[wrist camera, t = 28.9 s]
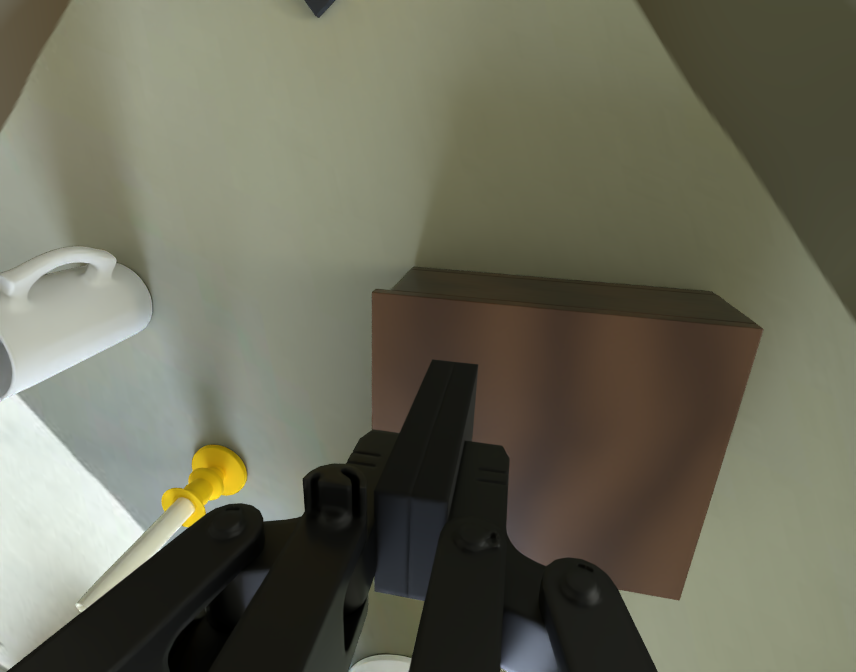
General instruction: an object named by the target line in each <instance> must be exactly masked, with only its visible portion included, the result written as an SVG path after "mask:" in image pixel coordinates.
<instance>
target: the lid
mask: <svg viewBox="0 0 856 672" xmlns="http://www.w3.org/2000/svg"><path fill="white" fill-rule="evenodd" d="M762 333H763V328H761V327H760V326H759V325H757V324H749V323H739V322H728V321H717V320H706V319H696V318H685V317H674V316H663V315H652V314H642V313H631V312H620V311H609V310H598V309H588V308H577V307H566V306H555V305H545V304H534V303H523V302H512V301H501V300H491V299H480V298H469V297H458V296H448V295H437V294H426V293H415V292H404V291H394V290H383V289H375V290H374V291H373V292H372V430H373V429H374V430H382V431H389V432H396V433H400V431H401V429H402V426H403V424H404V422H405V420H406V417H407V415H408V413H409V411H410V408H411V406H412V404H413V402H414V399H415V397H416V395H417V392H418V390H419V388H420V386H421V383H422V381H423V379H424V377H425V374H426V372H427V370H428V368H429V365H430V363H431V361H432V359H434V360H443V361H452V362H461V363H470V364H478V376H477V388H476V400H475V412H474V424H473V437H472V442H479V443H487V444H494V445H501V446H503V448H504V449H505V451H506V453H507V455H508V456H509V458H510V463H509V482H508V501H507V520H506V529H507V535H508V537H509V539H510V541H511V543H512V544H513V545H514V547H515V548H516V549H517V550H518V551H520V552H521V553H522V554H523V555H525V556H526V557H528V558H530V559H532V560H534V561H536V562H538V563H540V564H542V565H545V566H547V565H549V564H550V563H551V562H553V561H554V560H556V559H561V558H567V557H570V558H577V559H583V560H585V561H587V562H590V563H592V564H594V565H596V566H598V567H599V568H600V569H601V570H603V571H604V572H605V573H607V574H608V575H609V577H610V578H611V580H612V581H613V582H614V584H615V585H616V587H617V589H618V590H624V591H629V592H635V593H640V594H646V595H652V596H657V597H663V598H668V599H674V600H680V597H681V594H682V590H683V587H684V584H685V581H686V578H687V574H688V571H689V568H690V565H691V561H692V558H693V555H694V552H695V549H696V545H697V542H698V539H699V536H700V533H701V529H702V526H703V523H704V520H705V516H706V513H707V510H708V507H709V504H710V500H711V497H712V494H713V491H714V487H715V484H716V481H717V478H718V475H719V471H720V468H721V465H722V462H723V459H724V455H725V452H726V449H727V446H728V442H729V439H730V436H731V433H732V430H733V426H734V423H735V420H736V417H737V414H738V410H739V407H740V404H741V401H742V397H743V394H744V391H745V388H746V385H747V381H748V378H749V375H750V372H751V368H752V365H753V362H754V359H755V356H756V352H757V349H758V346H759V343H760V340H761V336H762Z"/></svg>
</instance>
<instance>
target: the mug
mask: <svg viewBox="0 0 856 672" xmlns="http://www.w3.org/2000/svg"><path fill="white" fill-rule="evenodd" d="M77 262H83V263H88V265H84V266H80V267H75V268H71V269H66V270H62V271H58V272H54V273H49V274H46V273H47V272H49V271H50V270H52V269H54V268H56V267H58V266H61V265H64V264H68V263H77ZM44 274H45V275H44ZM151 316H152V300H151V296H150V293H149V291H148V289H147V287H146V285H145V284H144V282H143V281H142V280H141V278H140V277H139V276H138V275H137V274H136V273H135V272H133V271H132V270H131V269H129V268H128V267H126V266H124V265H122V264H119V263H116V258H115V257H114V256H113V255H112V254H110V253H109V252H107V251H106V250H101V249H95V248H90V247H84V246H70V247H63V248H59V249H55V250H52V251H49V252H46V253H44V254H41V255H39V256H37V257H35V258H33V259H30V260H28V261H26V262H24V263H23V264H21V265H19V266H17V267H15V268H13V269H11V270H9V271H6V272H1V273H0V402H1V401H3V400H4V399H6V398H8V397H10V396H12V395H14V394H16V393H18V392H21V391H23V390H25V389H27V388H29V387H31V386H33V385H35V384H37V383H39V382H41V381H43V380H45V379H47V378H49V377H51V376H53V375H55V374H57V373H59V372H61V371H63V370H65V369H67V368H69V367H71V366H73V365H75V364H77V363H79V362H81V361H83V360H85V359H87V358H89V357H91V356H93V355H95V354H97V353H99V352H101V351H103V350H105V349H107V348H109V347H111V346H113V345H115V344H117V343H119V342H121V341H123V340H125V339H127V338H129V337H131V336H133V335H135V334H137V333H139V332H140V331H142V330H143V329H144V328H145V327H146V326H147V325H148V324H149V322H150V319H151Z"/></svg>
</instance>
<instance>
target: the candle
mask: <svg viewBox="0 0 856 672" xmlns="http://www.w3.org/2000/svg"><path fill="white" fill-rule="evenodd" d="M192 469H193V472H192V473H191V474H190V476H189V481H188V482H189V484H188V485H186V486H185V488H184V489H182V488H171V489H169V490H167V491H166V492H165V493H164V494H163V496H162V507H163V509H164V511H165V512H164V513H163V514H162V515H161V516H160V517H159V518H158V519H157V520H156V521H155V522H154V523H153V524H152V525H151V526H150V527H149V528H148V529H147V530H146V531H145V532H144V533H143V535H142V536H141V537H140V538H139V539H138V540H137V541H136V542H135V543H134V544H133V545H132V546H131V547H130V548H129V549H128V550H127V551H126V552H125V553H124V554H123V555H122V556H121V557H120V558H119V559H118V560H117V561H116V562H115V563H114V564H113V565H112V566H111V567H110V568H109V569H108V570H107V571H106V572H105V573H104V574H103V575H102V576H101V577H100V578H99V579H98V580H97V581H96V582H95V583H94V585H93V586H92V587H91V588H90V589H89V590H88V591H87V592H86V593H85V594H84V595H83V596H82V598H81V599H80V600H79V601H78V602H77V603H76V607H77V609H78V610H79V611H80V612H83V611H84V610H85V609H86V608H88V607H89V606H90V605H91V604H93V603H94V602H95V601H96V600H98V599H99V598H100V597H102V596H103V595H104V594H105V593H107V592H108V591H109V590H110V589H112V588H113V587H114V586H115V585H117V584H118V583H119V582H120V581H122V580H123V579H124V578H126V577H127V576H128V575H129V574H131V573H132V572H133V571H134V570H136V569H137V568H138V567H139V566H141V565H142V564H143V563H144V562H146V561H147V560H148V559H150V558H151V557H152V556H153V555H154V554H155V553H156V552H157V551H158V550H159V549H160V548H161V547H162V546H163V545H164V544H165V543H166V542H167V541H168V539H169V538H170V537H171V536H172V535H173V534H174V533H175V532H176V531H177V530H178V529H179V528H180V527H181V525H182V526H184V527H190V526H191V525H192V524H194V523H195V522H196V521H197V520H199V519H200V518H201V517H203V516H204V515H205V514H206V512H205V507H204V505H205V504H206V503H207V502H208V500H215V499H217V498H219V497H220V496H221V495H226V496H227V495H233V494H235V493H237V492H239V491H240V490H241V489H242V488H243V486H244V485H245V483H246V481H247V472H246V467H245V465H244V463H243V461H242V460H241V459H240V457H239V456H238V455H237V454H236V453H234V452H233V451H232V450H230V449H228V448H226V447H223V446H220V445H206V446H204V447H202V448H200V449H199V450H198V451H197V452H196V453H195V455H194V457H193V459H192Z"/></svg>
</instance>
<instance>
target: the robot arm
mask: <svg viewBox="0 0 856 672" xmlns="http://www.w3.org/2000/svg"><path fill="white" fill-rule="evenodd" d="M477 376H478V364H470V363H461V362H452V361H443V360H434V359H432V361H431V363H430V365H429V368H428V370H427V372H426V374H425V377H424V379H423V381H422V383H421V386H420V388H419V390H418V392H417V395H416V397H415V399H414V402H413V404H412V406H411V408H410V411H409V413H408V415H407V417H406V420H405V422H404V424H403V426H402V429H401V431H400V433H396V432H389V431H382V430H374V429H373V430H371V431H370V432H369V433H367V434H366V435H364V436H363V437H362V438H360V439H359V441H358V443H357V445H356V446H355V448H354V450H353V453H351V455H350V457H349V459H348V461H347V463H346V464H328V465H324V466H320V467H318V468H316V469H314V470H312V471H310V472H309V473H308V474H307V475H306V476H305V477H304V478H303V491H304V505H305V512H304V514H303V515H302V516H301V517H298V518H293V519H287V520H276V521H265V522H263V517H262V515H261V513H260V511H259V510H258V509H256V508H255V507H254V506H252V505H247V504H242V503H239V504H228V505H225V506H222V507H219V508H215V509H214V510H212V511H210V512H209V513H207V514H205V515H204V516H203V517H201V518H200V519H199V520H197V521H196V522H195V523H194V524H192V525H191V526H190V527H189V528H187V529H186V530H185V531H184V532H182V533H181V534H180V535H179V536H177V537H176V538H175V539H173V540H172V541H171V542H170V543H168V544H167V545H166V546H165V547H163V548H162V549H161V550H160V551H158V552H157V553H156V554H155V555H153V556H152V557H151V558H150V559H148V560H147V561H146V562H144V563H143V564H142V565H141V566H139V567H138V568H137V569H136V570H134V571H133V572H132V573H131V574H129V575H128V576H127V577H126V578H124V579H123V580H122V581H120V582H119V583H118V584H117V585H115V586H114V587H113V588H112V589H110V590H109V591H108V592H107V593H105V594H104V595H103V596H102V597H100V598H99V599H98V600H96V601H95V602H94V603H93V604H91V605H90V606H89V607H88V608H86V609H85V610H84V611H83V612H81V613H80V614H79V615H78V616H76V617H75V618H74V619H72V620H71V621H70V622H69V623H67V624H66V625H65V626H64V627H62V628H61V629H60V630H59V631H57V632H56V633H55V634H54V635H52V636H51V637H50V638H48V639H47V640H46V641H45V642H43V643H42V644H41V645H40V646H38V647H37V648H36V649H35V650H33V651H32V652H31V653H30V654H28V655H27V656H26V657H24V658H23V659H22V660H21V661H19V662H18V663H17V664H16V665H14V666H13V667H12V668H11V669H9V670H8V671H7V672H348V669H349V666H350V663H351V661H352V658H353V655H354V652H355V649H356V646H357V643H358V640H359V637H360V634H361V631H362V628H363V625H364V622H365V619H366V616H367V611H368V592H369V589H370V587H371V584H372V581H373V578H374V582H375V592H381V593H386V594H391V595H396V596H401V597H407V598H412V599H417V600H422V601H425V602H424V606H423V610H422V615H421V619H420V624H419V628H418V632H417V637H416V641H415V646H414V650H413V655H412V659H411V663H410V668H409V672H500V668H502V669H504V670H506V671H507V672H658V671H657V669H656V667H655V665H654V663H653V661H652V659H651V657H650V655H649V653H648V651H647V648H646V646H645V644H644V642H643V640H642V638H641V636H640V634H639V632H638V630H637V628H636V626H635V624H634V622H633V620H632V618H631V616H630V613H629V611H628V609H627V607H626V605H625V603H624V601H623V599H622V597H621V595H620V593H619V591H618V589H617V587H616V585H615V584H614V582H613V581H612V580H611V578H610V577H609V575H608V574H607V573H605V572H604V571H603V570H601V569H600V568H599V567H598V566H596V565H594V564H592V563H590V562H587V561H585V560H583V559H577V558H570V557H567V558H561V559H556V560H554V561H553V562H551V563H550V564H549V565H547V566H545V565H542V564H540V563H538V562H536V561H534V560H532V559H530V558H528V557H526V556H525V555H523V554H522V553H521V552H520V551H518V550H517V549H516V548H515V547H514V545H513V544H512V543H511V541H510V539H509V537H508V535H507V529H506V520H507V501H508V482H509V463H510V458H509V456H508V455H507V453H506V451H505V449H504V448H503V446H501V445H494V444H487V443H479V442H472V437H473V424H474V412H475V400H476V388H477Z"/></svg>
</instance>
